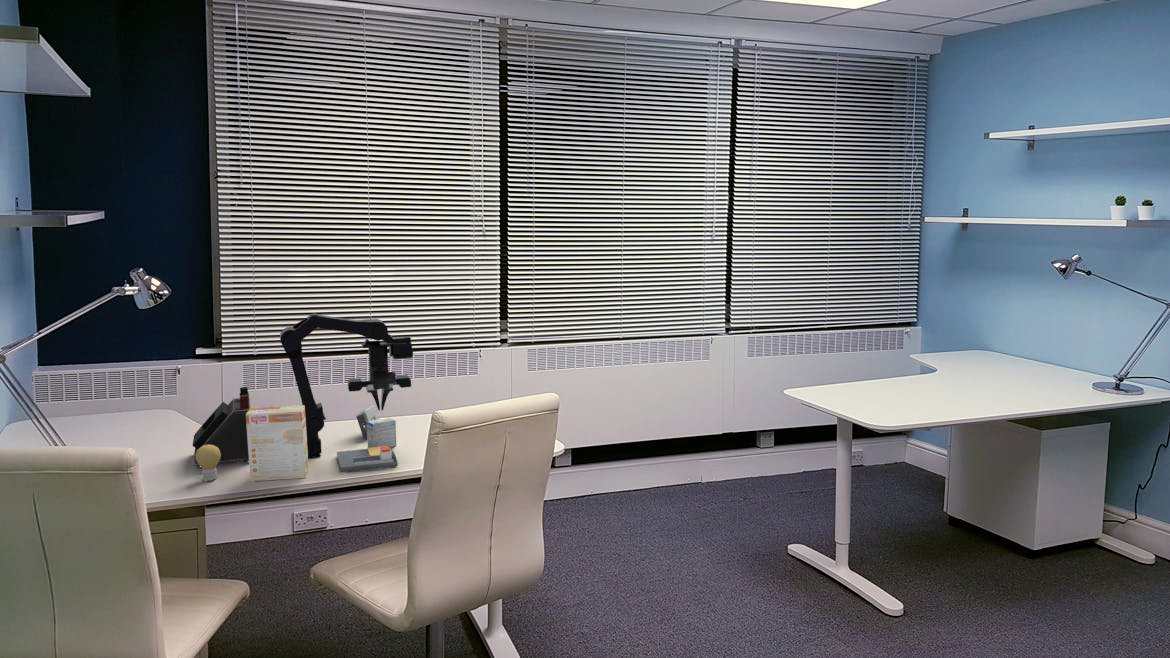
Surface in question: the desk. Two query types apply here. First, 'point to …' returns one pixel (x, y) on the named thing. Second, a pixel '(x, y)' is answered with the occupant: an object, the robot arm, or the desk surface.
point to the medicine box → (381, 432)
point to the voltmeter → (227, 429)
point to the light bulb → (208, 461)
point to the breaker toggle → (385, 453)
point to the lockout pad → (374, 450)
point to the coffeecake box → (277, 443)
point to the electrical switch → (366, 419)
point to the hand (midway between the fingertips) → (380, 410)
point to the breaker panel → (363, 460)
